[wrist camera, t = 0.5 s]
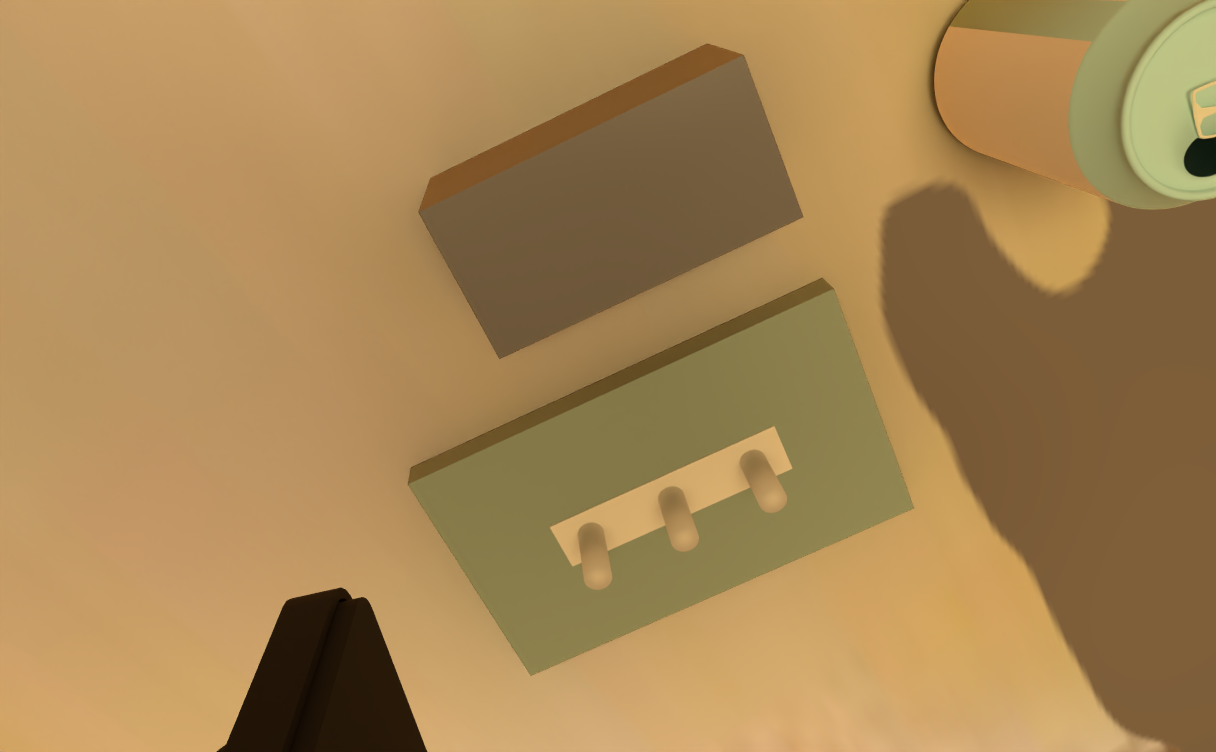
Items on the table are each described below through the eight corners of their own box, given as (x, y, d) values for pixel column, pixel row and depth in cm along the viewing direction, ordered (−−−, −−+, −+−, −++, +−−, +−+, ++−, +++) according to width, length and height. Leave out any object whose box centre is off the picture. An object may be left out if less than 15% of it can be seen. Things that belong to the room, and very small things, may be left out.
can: (1129, 51, 38) (1387, 80, 27) (1003, 187, 39) (1195, 268, 28) (1020, -71, 35) (1253, -94, 24) (891, 79, 37) (1054, 122, 26)
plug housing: (499, 306, 39) (499, 358, 34) (431, 177, 37) (418, 212, 31) (760, 183, 38) (803, 216, 33) (706, 43, 36) (743, 54, 30)
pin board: (529, 655, 46) (533, 728, 42) (410, 467, 42) (399, 527, 37) (901, 491, 45) (946, 550, 40) (822, 278, 40) (863, 316, 36)
